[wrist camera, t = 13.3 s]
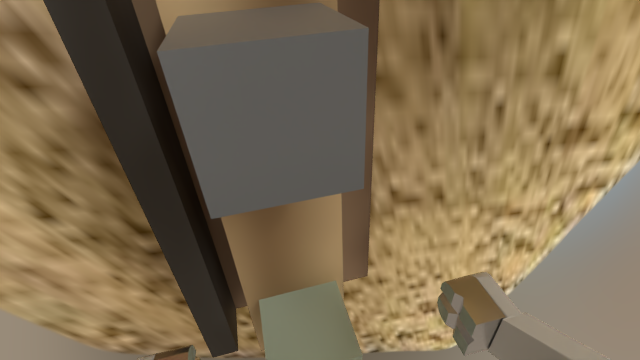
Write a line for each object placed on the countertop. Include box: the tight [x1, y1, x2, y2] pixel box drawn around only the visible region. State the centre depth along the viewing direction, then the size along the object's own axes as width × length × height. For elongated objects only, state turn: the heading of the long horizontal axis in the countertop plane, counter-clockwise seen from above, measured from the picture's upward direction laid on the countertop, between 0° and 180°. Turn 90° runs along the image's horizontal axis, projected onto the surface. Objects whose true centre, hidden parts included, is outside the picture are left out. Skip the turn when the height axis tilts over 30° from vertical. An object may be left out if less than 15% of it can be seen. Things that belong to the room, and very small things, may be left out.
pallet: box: [156, 0, 344, 351], centre depth 16 cm, size 5×18×4 cm, turn 3°
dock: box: [43, 0, 379, 357], centre depth 18 cm, size 11×20×8 cm, turn 3°
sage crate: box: [259, 281, 363, 360], centre depth 16 cm, size 4×4×4 cm
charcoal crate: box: [157, 2, 369, 219], centre depth 9 cm, size 4×4×4 cm
